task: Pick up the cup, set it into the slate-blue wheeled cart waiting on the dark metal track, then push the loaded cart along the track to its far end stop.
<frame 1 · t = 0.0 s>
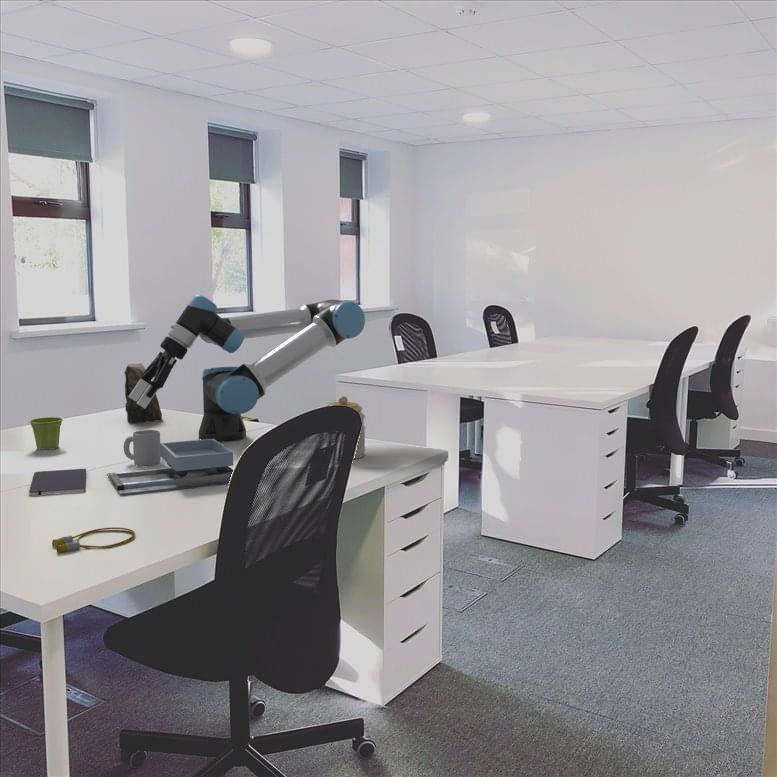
hand: (136, 402, 243), 15 cm above the table, tool tilted 35°, fingers open, 13 cm apart
notebook: (59, 486, 212), on the table
cart: (195, 458, 219), point 5 cm above the table, slide at 0.0 cm
brown rock: (143, 420, 300), on the table
plant pot: (47, 448, 253), on the table
extension cord: (94, 544, 168), on the table
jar: (343, 456, 245), on the table
cup: (142, 464, 233), on the table
track: (173, 479, 217), on the table
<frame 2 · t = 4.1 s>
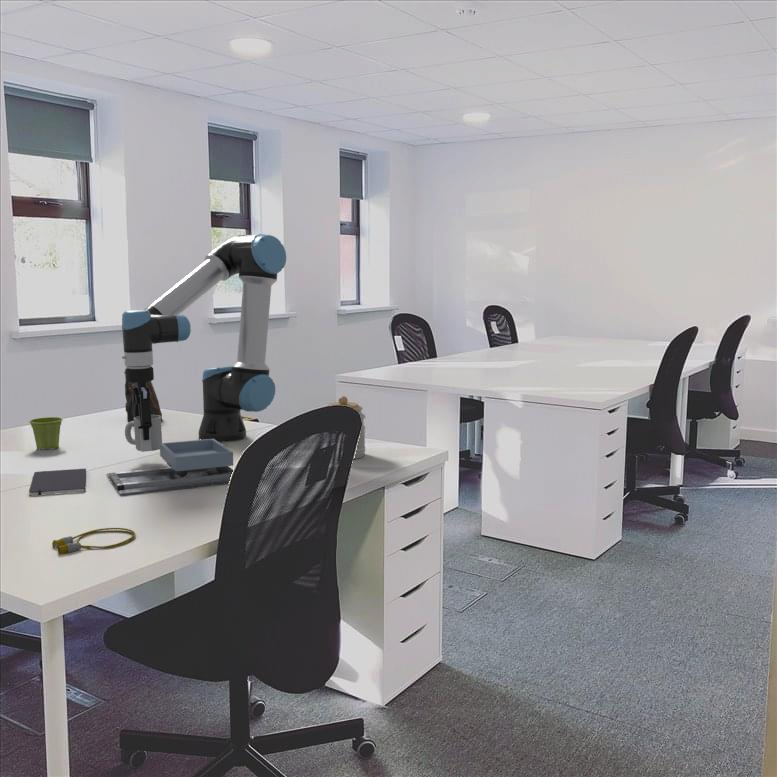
hand: (143, 448, 233), 4 cm above the table, tool pointing down, fingers closed on cup, 7 cm apart
cup: (144, 449, 234), point 4 cm above the table, touching gripper
everything else where it was.
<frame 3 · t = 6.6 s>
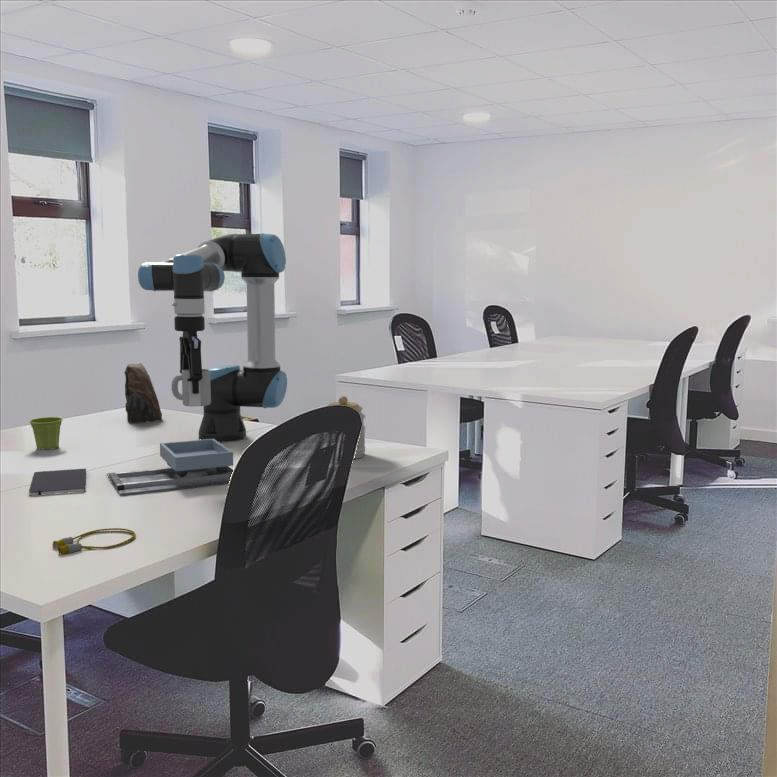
hand: (191, 403, 217), 19 cm above the table, tool pointing down, fingers closed on cup, 7 cm apart
cup: (191, 405, 217), point 19 cm above the table, touching gripper
everything else where it was.
when the fingers open (7 cm above the table, at t = 9.4 s): cup drops 1 cm, resting on cart.
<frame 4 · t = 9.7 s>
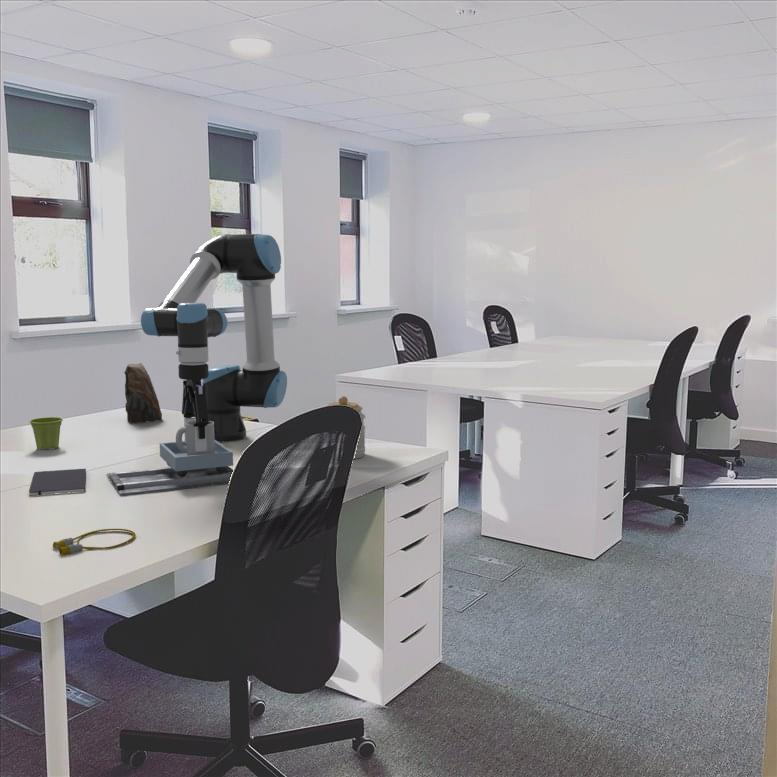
hand: (195, 446, 218), 8 cm above the table, tool pointing down, fingers open, 11 cm apart
cart: (195, 458, 219), point 5 cm above the table, slide at 0.1 cm, touching cup
cup: (195, 457, 219), point 5 cm above the table, touching cart
everything else where it was.
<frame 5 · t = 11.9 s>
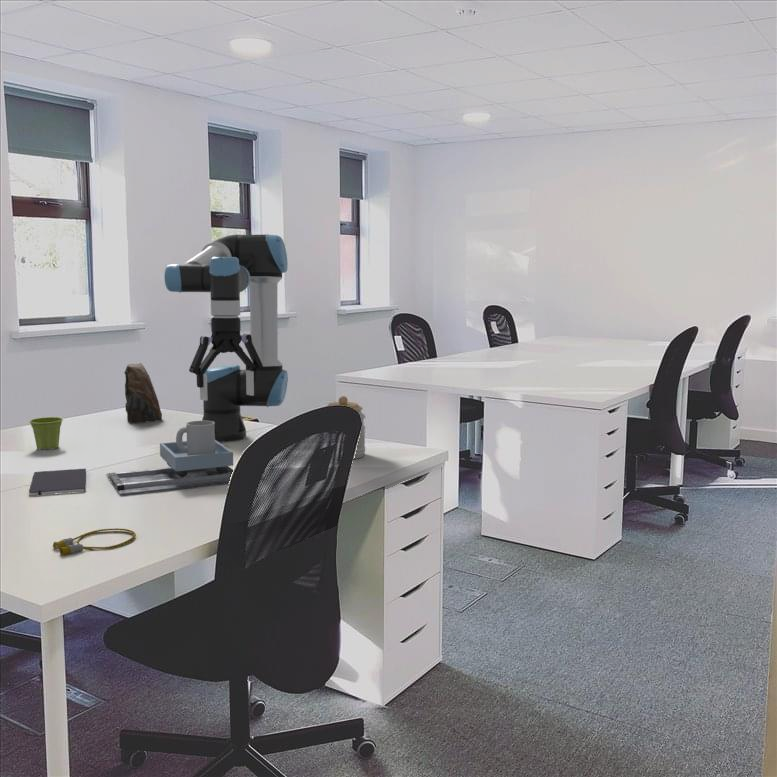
hand: (227, 397, 220), 20 cm above the table, tool pointing down, fingers open, 13 cm apart
nothing on the table moved.
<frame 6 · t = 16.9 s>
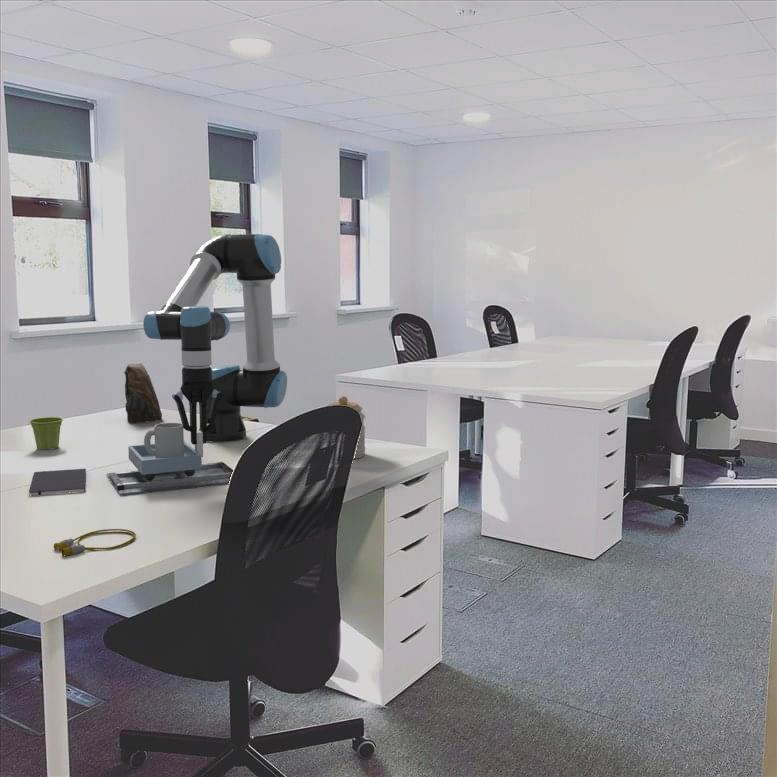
hand: (199, 456, 219), 5 cm above the table, tool pointing down, fingers closed
cart: (164, 461, 215), point 5 cm above the table, slide at 8.1 cm, touching cup
cup: (164, 460, 215), point 5 cm above the table, touching cart, hand
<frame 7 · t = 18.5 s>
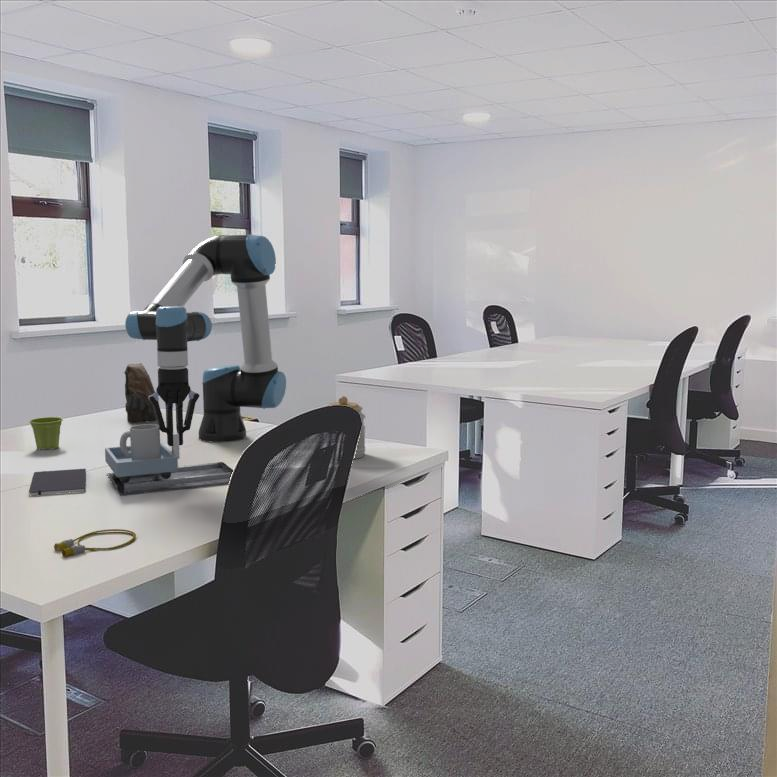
hand: (175, 457, 216), 6 cm above the table, tool pointing down, fingers closed
cart: (140, 463, 212), point 5 cm above the table, slide at 14.1 cm, touching cup
cup: (141, 462, 213), point 5 cm above the table, touching cart, hand
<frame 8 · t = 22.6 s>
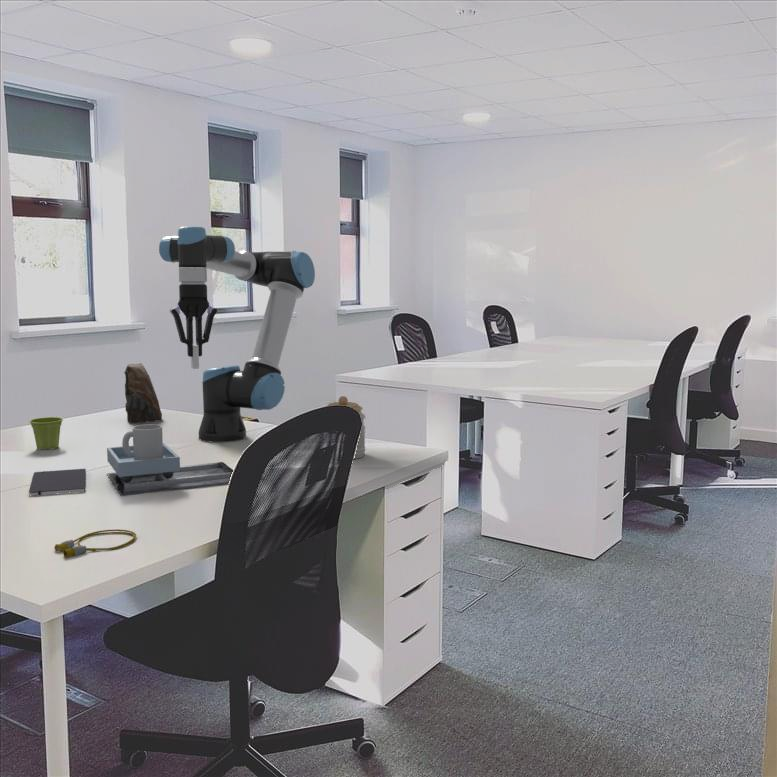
hand: (195, 368, 235), 26 cm above the table, tool pointing down, fingers closed
cart: (142, 463, 213), point 5 cm above the table, slide at 13.5 cm, touching cup
cup: (143, 462, 213), point 5 cm above the table, touching cart
at the end: cart slide at 13.5 cm; cup inside the target area (0.5 cm from its centre), point 5.1 cm above the table; cup tilted 0° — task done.
